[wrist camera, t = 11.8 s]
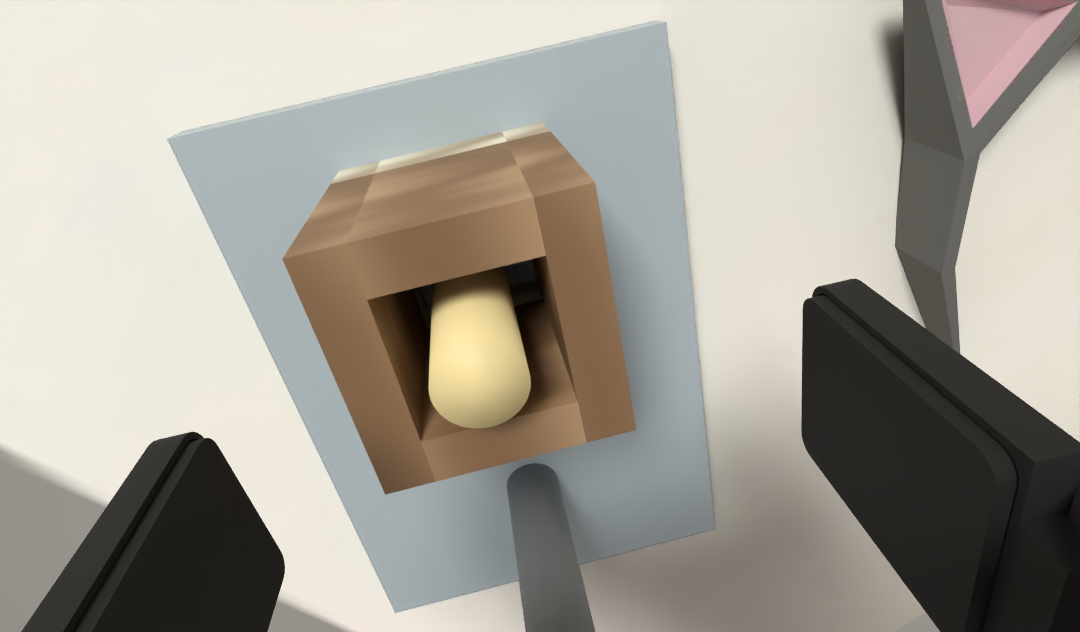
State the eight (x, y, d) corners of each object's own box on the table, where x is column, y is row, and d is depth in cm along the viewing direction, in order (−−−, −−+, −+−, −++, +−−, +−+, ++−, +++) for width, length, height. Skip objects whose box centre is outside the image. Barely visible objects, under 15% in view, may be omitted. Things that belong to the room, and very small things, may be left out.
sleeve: (542, 122, 18) (595, 182, 12) (577, 302, 21) (636, 429, 14) (339, 171, 18) (282, 259, 11) (403, 346, 20) (385, 494, 14)
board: (653, 21, 18) (825, 31, 10) (704, 508, 27) (815, 720, 19) (183, 131, 18) (-39, 235, 10) (397, 588, 27) (377, 840, 19)
